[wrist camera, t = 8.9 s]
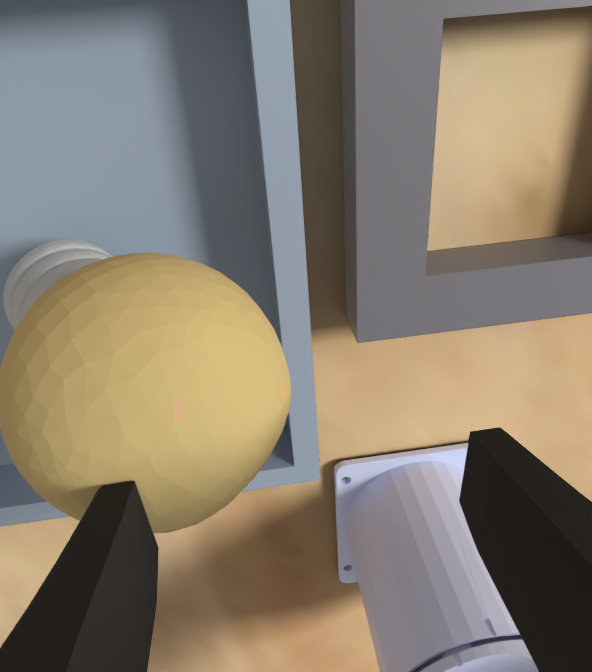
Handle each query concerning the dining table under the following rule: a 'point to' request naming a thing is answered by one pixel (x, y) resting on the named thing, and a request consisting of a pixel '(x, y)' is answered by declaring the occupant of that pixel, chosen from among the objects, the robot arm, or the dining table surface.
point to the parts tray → (160, 167)
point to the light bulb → (138, 381)
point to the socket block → (428, 190)
